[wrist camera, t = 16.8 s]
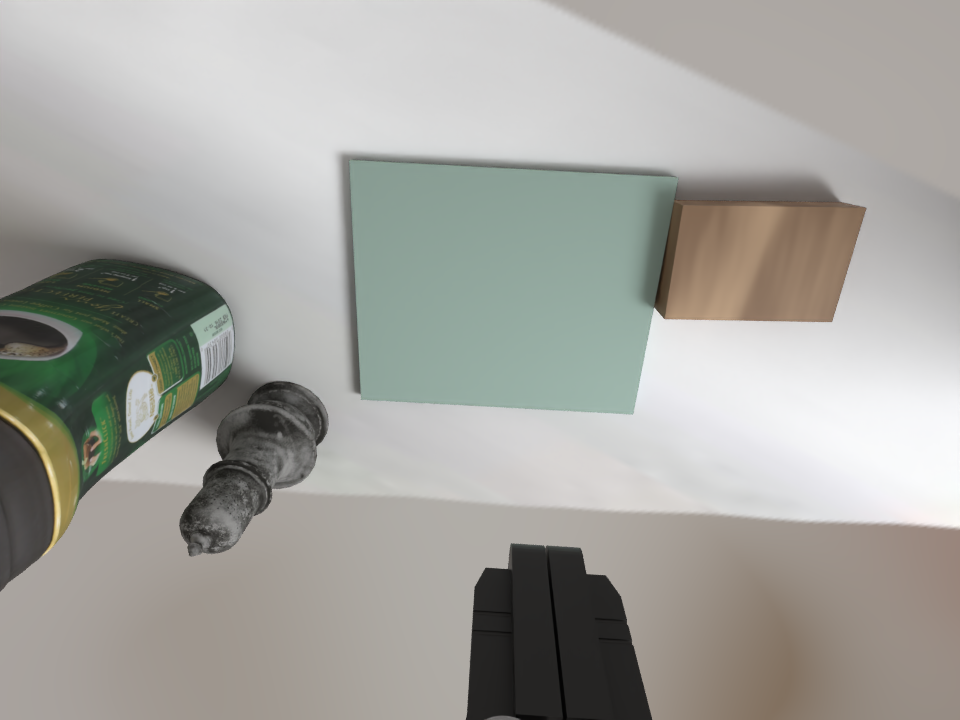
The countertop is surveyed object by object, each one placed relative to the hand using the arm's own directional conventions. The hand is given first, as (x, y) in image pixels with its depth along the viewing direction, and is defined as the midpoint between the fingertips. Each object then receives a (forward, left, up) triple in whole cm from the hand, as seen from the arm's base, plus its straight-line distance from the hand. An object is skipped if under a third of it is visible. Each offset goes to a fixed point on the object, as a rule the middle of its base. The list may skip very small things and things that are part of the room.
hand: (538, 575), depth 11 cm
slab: (-8, -3, -20) cm, 22 cm away
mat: (0, 0, -21) cm, 21 cm away
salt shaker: (+14, +9, -21) cm, 27 cm away
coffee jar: (+21, +3, -21) cm, 30 cm away
